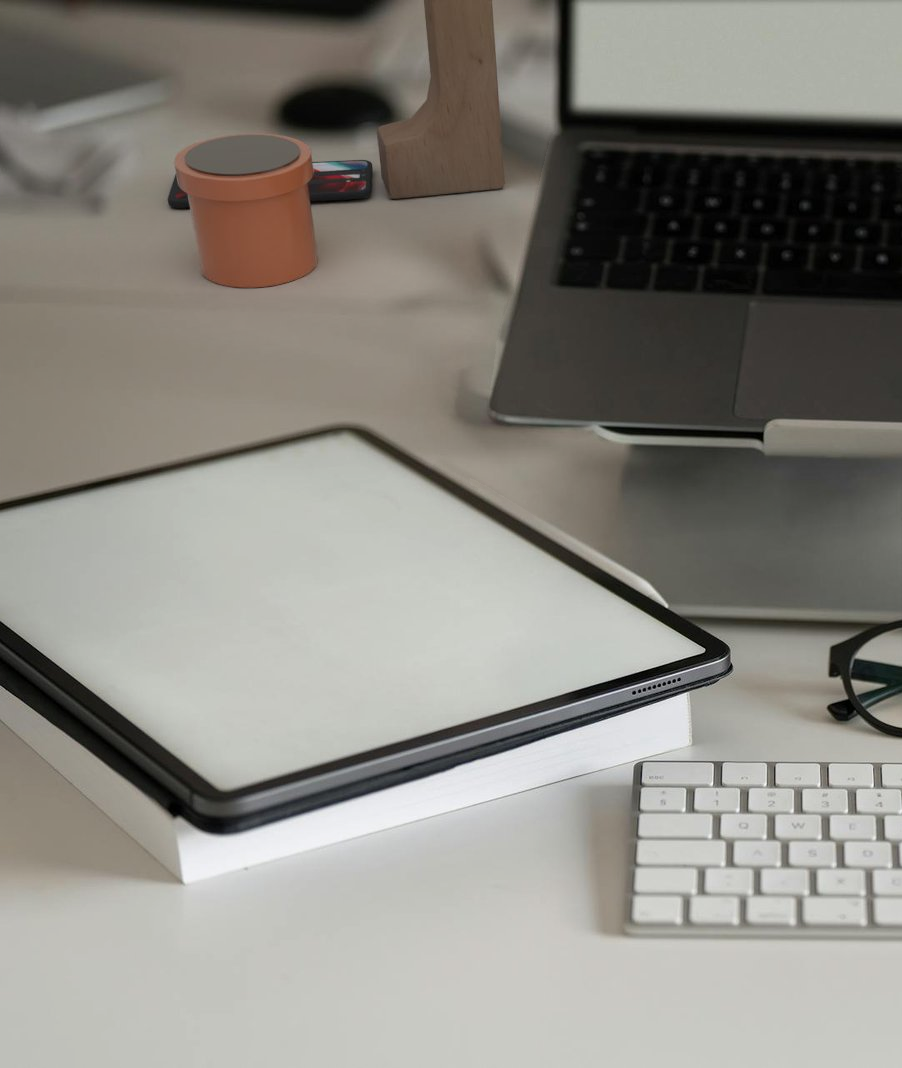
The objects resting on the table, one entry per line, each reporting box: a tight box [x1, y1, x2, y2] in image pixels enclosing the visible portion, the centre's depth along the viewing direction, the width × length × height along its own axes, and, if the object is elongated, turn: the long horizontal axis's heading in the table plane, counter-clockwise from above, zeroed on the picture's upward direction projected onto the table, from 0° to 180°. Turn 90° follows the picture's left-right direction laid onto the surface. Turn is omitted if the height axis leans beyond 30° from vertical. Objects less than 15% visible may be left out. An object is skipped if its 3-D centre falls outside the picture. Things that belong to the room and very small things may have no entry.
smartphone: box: [167, 159, 374, 209], centre depth 132 cm, size 7×1×15 cm
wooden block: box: [376, 0, 506, 200], centre depth 129 cm, size 9×4×18 cm, turn 109°
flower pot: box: [173, 133, 319, 289], centre depth 118 cm, size 9×9×8 cm
